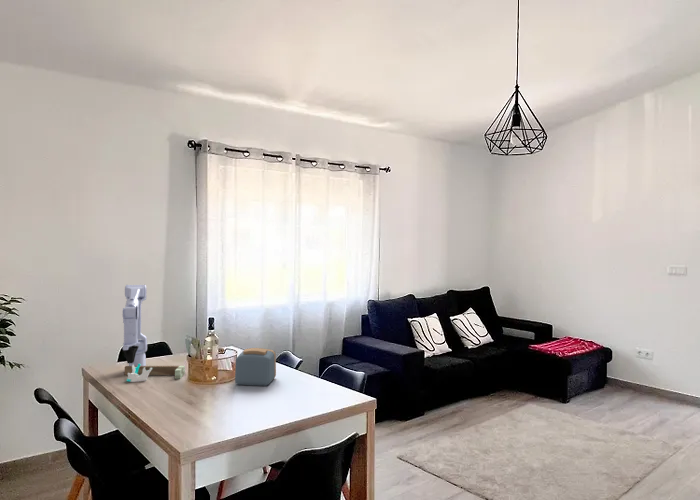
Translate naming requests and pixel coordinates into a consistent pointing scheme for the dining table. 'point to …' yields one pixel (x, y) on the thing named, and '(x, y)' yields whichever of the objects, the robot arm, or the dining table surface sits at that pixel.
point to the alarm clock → (255, 367)
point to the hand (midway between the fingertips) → (130, 362)
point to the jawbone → (134, 375)
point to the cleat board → (160, 370)
